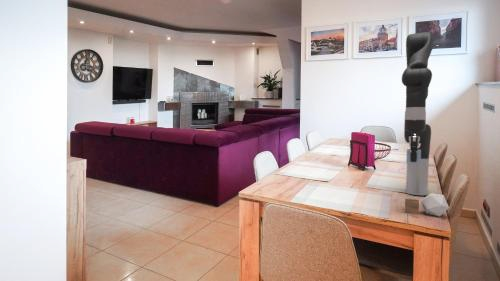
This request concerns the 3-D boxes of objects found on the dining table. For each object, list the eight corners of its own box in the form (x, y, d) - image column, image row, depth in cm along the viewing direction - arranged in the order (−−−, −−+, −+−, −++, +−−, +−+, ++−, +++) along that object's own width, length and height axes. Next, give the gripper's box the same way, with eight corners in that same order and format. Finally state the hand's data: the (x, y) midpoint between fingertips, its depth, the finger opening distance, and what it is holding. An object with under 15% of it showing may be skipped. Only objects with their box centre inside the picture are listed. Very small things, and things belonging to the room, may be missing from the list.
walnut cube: (405, 210, 133) (405, 198, 133) (418, 211, 131) (419, 199, 131) (404, 213, 129) (405, 200, 129) (418, 214, 127) (419, 202, 126)
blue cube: (406, 161, 133) (407, 149, 132) (420, 161, 130) (420, 149, 130) (406, 162, 128) (406, 150, 128) (420, 163, 126) (421, 150, 126)
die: (418, 214, 126) (447, 222, 121) (422, 192, 125) (452, 199, 120) (418, 208, 133) (446, 216, 129) (423, 188, 132) (451, 194, 128)
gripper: (405, 119, 136) (403, 159, 137) (404, 118, 124) (402, 162, 124) (425, 119, 133) (423, 160, 134) (426, 118, 120) (424, 163, 121)
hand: (413, 160), depth 129 cm, fingers closed on blue cube, 5 cm apart
